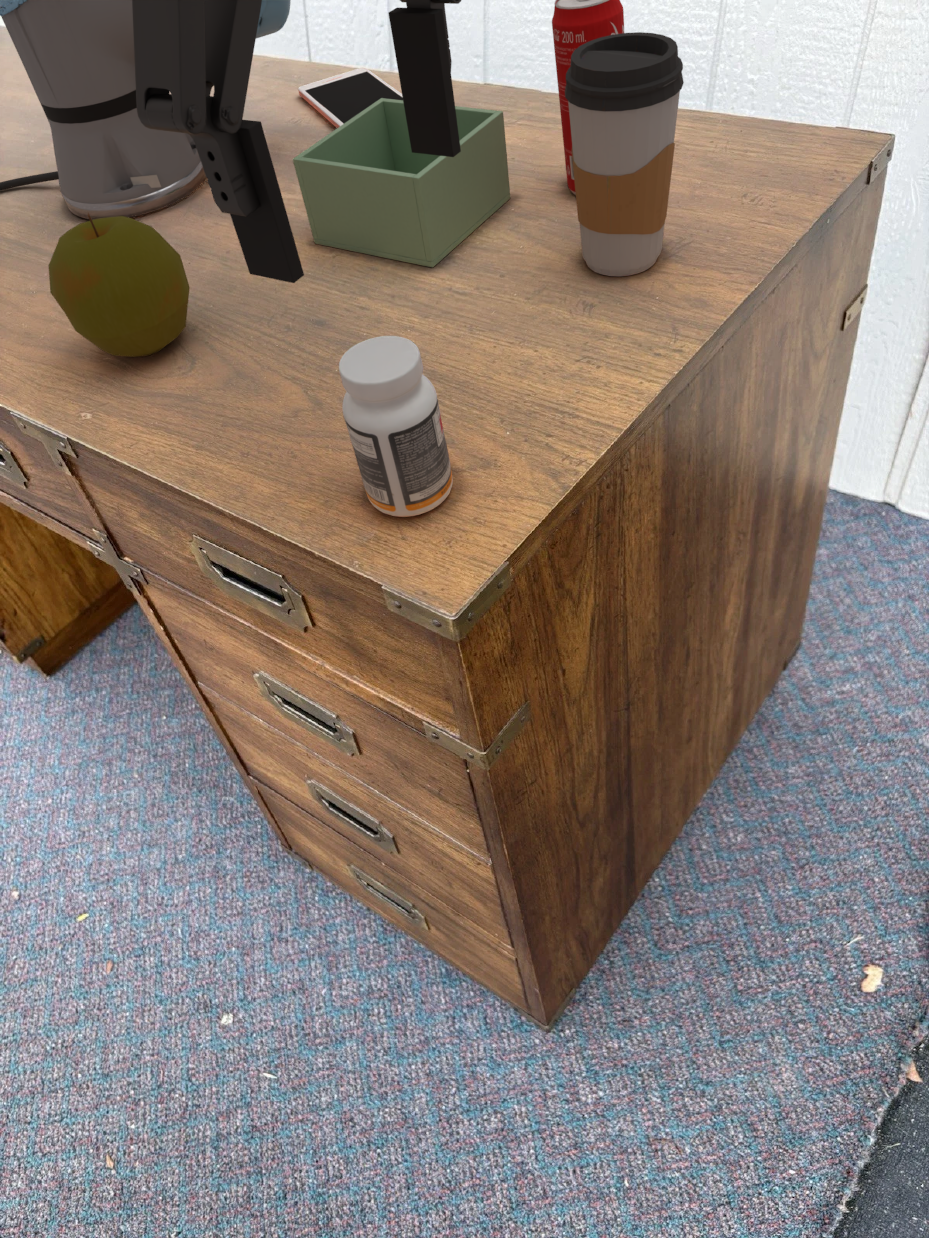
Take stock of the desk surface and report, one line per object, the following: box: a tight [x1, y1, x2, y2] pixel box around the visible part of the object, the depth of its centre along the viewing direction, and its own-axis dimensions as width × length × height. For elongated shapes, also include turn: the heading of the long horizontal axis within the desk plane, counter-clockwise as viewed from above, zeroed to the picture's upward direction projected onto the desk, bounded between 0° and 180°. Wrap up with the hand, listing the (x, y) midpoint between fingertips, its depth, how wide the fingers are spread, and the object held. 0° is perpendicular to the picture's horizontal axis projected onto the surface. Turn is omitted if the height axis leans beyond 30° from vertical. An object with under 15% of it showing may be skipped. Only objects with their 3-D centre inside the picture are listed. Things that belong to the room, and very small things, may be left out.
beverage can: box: [551, 0, 625, 196], centre depth 75 cm, size 6×6×15 cm
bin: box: [292, 98, 511, 268], centre depth 78 cm, size 13×13×8 cm
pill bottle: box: [338, 335, 454, 518], centre depth 53 cm, size 6×6×10 cm
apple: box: [47, 213, 191, 358], centre depth 69 cm, size 10×10×11 cm
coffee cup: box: [565, 31, 685, 277], centre depth 66 cm, size 8×8×15 cm
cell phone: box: [297, 67, 403, 129], centre depth 100 cm, size 9×18×1 cm, turn 25°
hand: (362, 209), depth 44 cm, fingers open, 13 cm apart
